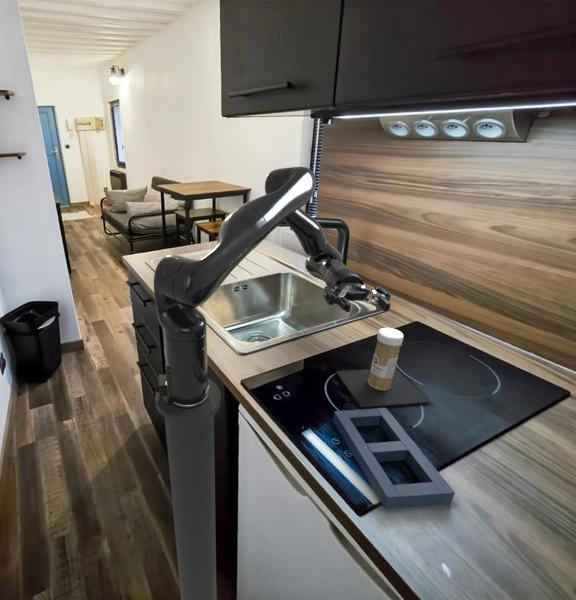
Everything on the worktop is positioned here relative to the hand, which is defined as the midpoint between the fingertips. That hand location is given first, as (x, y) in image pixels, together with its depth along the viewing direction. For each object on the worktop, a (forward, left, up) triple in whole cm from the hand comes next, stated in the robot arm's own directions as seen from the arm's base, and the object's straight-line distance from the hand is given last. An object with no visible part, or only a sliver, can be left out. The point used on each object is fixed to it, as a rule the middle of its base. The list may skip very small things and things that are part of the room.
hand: (368, 308), depth 83 cm
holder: (-9, -28, -15) cm, 33 cm away
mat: (0, -10, -15) cm, 18 cm away
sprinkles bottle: (0, -10, -14) cm, 17 cm away
